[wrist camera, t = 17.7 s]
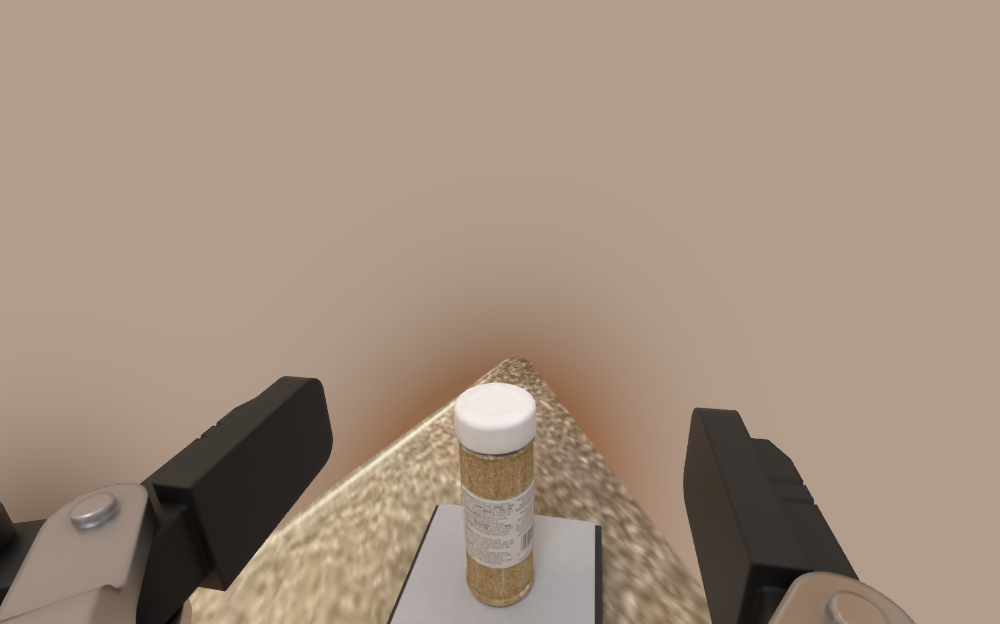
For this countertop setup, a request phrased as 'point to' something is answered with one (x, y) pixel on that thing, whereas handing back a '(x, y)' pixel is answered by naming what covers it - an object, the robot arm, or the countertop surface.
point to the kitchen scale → (532, 620)
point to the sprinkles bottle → (497, 490)
